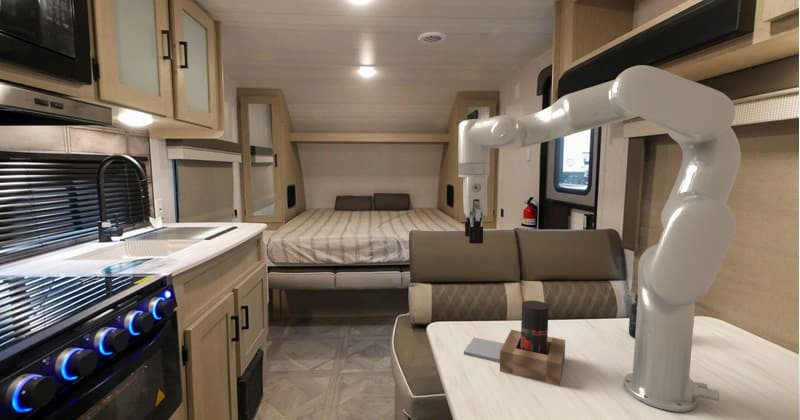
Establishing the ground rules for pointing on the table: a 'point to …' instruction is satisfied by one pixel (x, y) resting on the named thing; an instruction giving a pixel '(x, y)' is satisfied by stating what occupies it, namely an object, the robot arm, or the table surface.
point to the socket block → (533, 359)
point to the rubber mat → (484, 349)
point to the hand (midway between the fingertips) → (473, 239)
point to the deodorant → (534, 326)
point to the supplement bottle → (633, 317)
